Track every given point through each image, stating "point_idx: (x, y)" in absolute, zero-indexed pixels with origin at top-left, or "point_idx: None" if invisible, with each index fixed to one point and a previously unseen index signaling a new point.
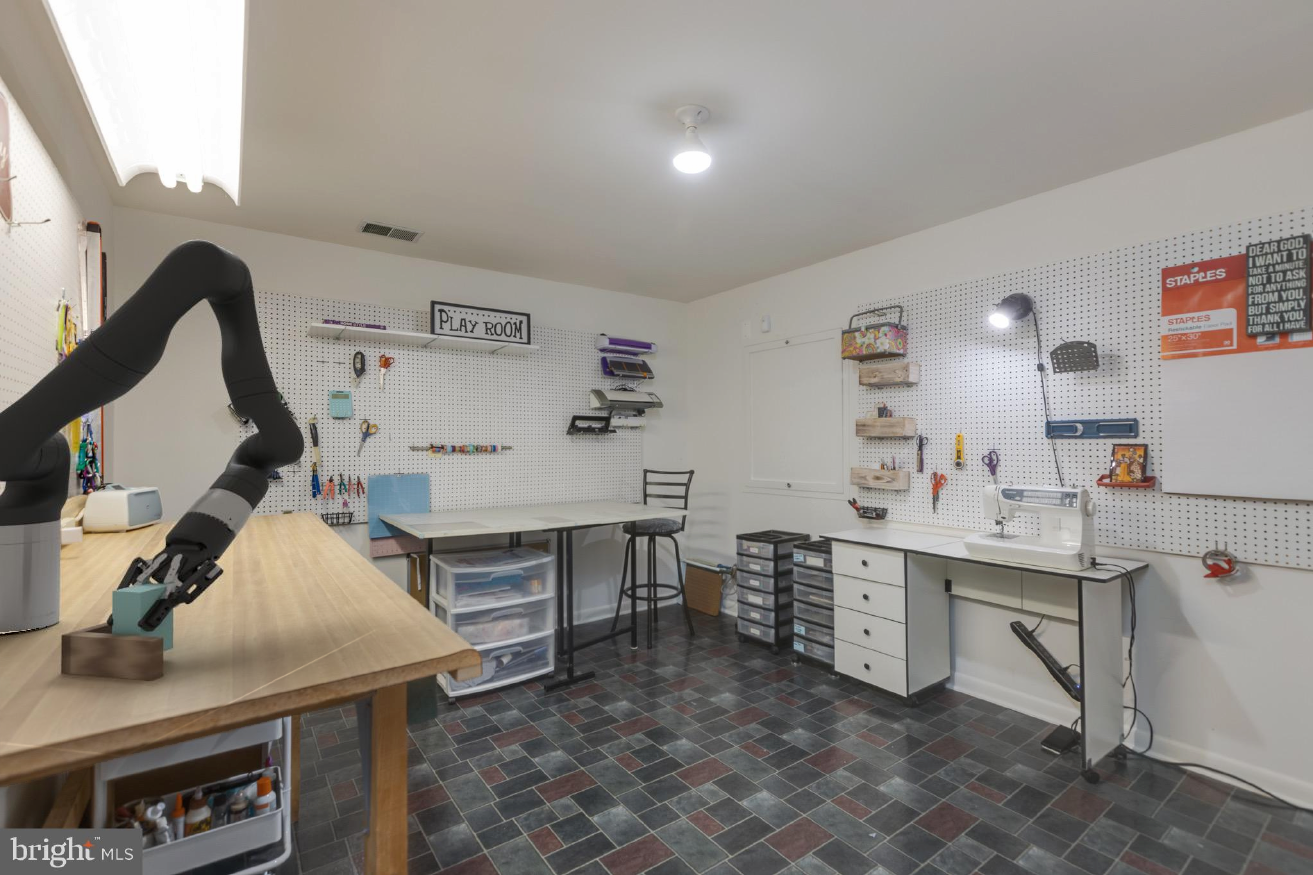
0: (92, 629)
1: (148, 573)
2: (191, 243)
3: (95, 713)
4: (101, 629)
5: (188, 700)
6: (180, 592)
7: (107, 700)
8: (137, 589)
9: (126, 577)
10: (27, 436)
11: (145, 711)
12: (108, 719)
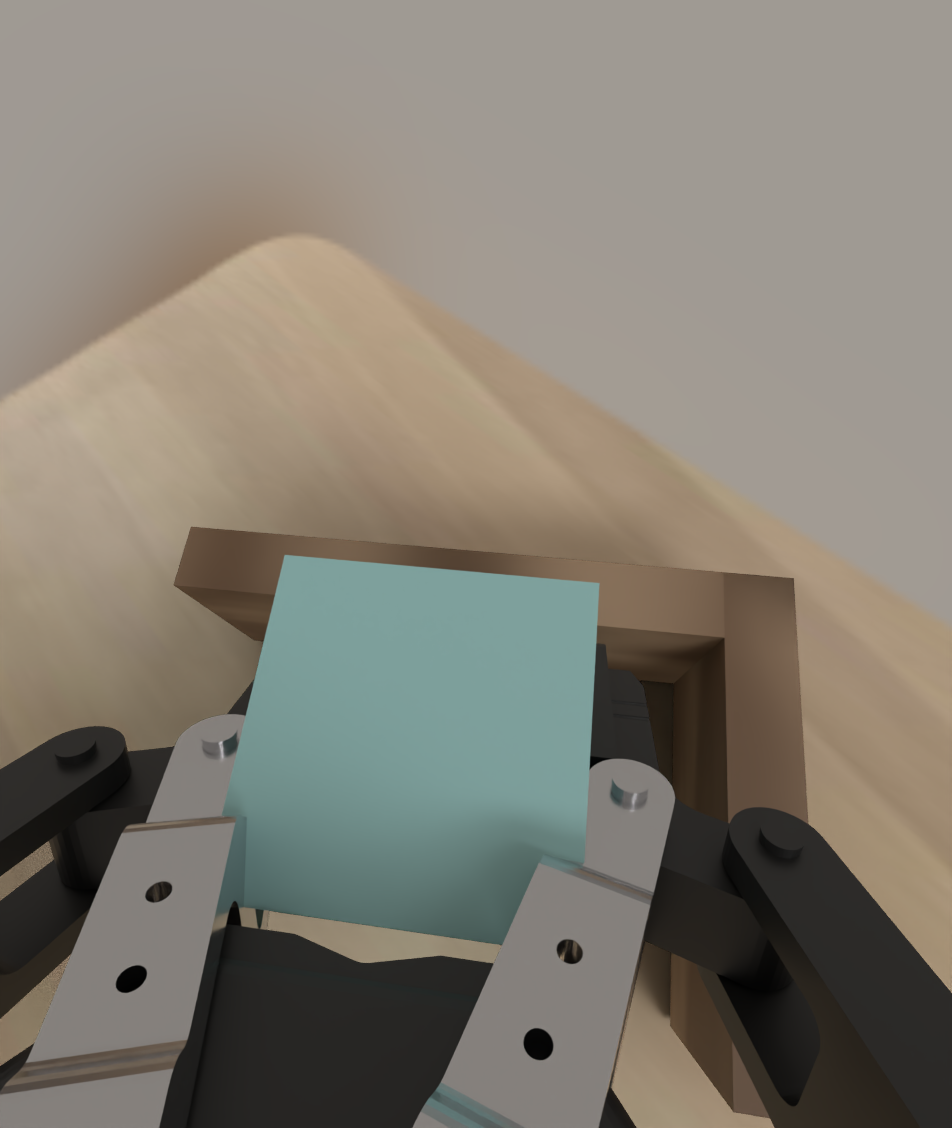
0: (728, 688)
1: (525, 942)
2: None
3: (258, 376)
4: (724, 745)
5: (32, 473)
6: (53, 742)
7: (300, 451)
8: (412, 656)
9: (895, 985)
10: None
11: (117, 399)
12: (188, 351)
